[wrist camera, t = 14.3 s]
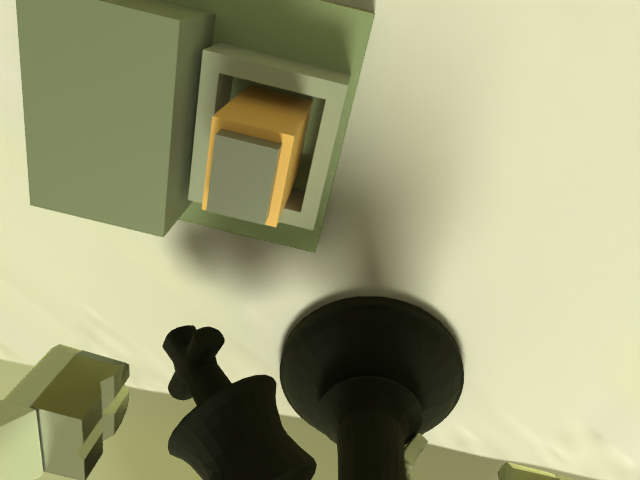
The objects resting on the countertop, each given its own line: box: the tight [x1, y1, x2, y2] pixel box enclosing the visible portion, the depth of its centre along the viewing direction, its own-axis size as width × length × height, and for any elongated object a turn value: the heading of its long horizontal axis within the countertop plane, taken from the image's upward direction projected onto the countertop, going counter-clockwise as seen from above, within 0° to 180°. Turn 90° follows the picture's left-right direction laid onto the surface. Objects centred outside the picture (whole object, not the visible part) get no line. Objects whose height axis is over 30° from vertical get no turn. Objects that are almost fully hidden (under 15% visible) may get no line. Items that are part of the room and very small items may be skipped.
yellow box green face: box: [202, 85, 313, 227], centre depth 28 cm, size 4×5×9 cm
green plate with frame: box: [16, 0, 375, 252], centre depth 29 cm, size 18×16×7 cm
